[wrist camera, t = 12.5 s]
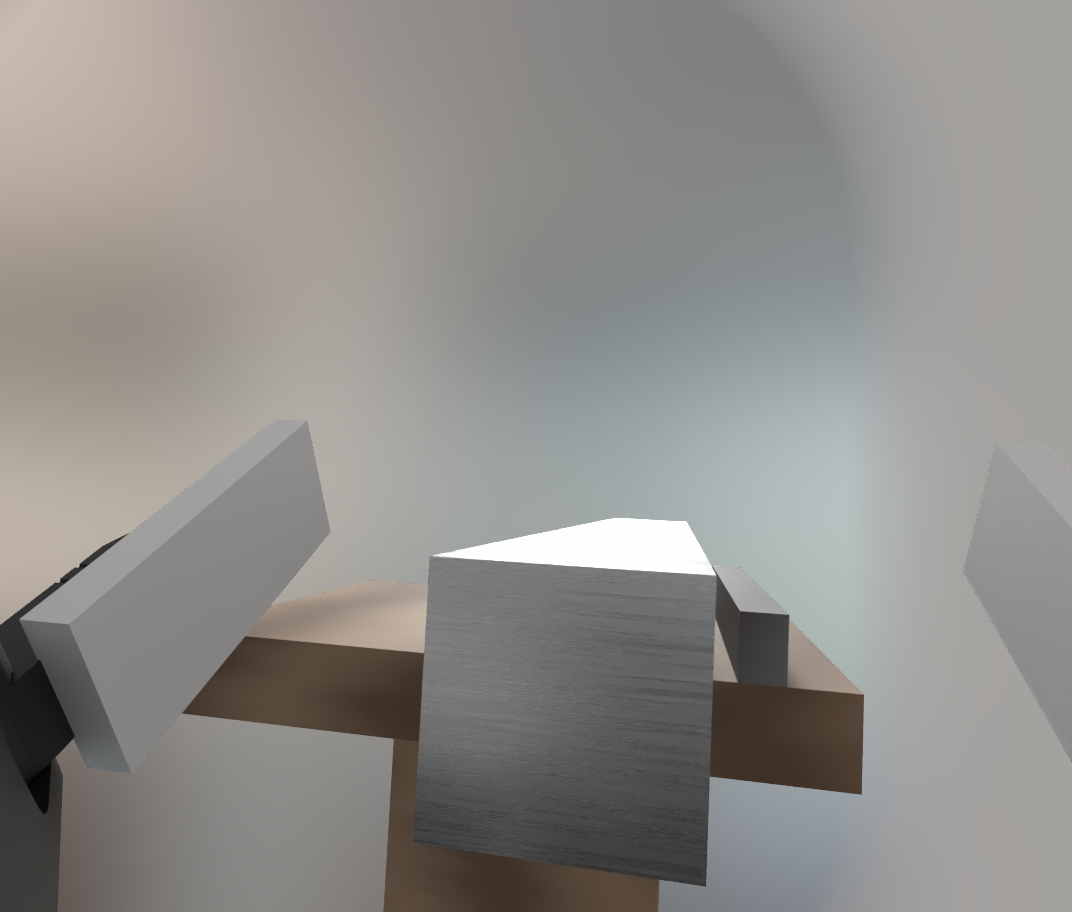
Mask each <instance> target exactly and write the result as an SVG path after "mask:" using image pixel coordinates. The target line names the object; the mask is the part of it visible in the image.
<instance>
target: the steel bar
mask: <svg viewBox="0 0 1072 912" xmlns="http://www.w3.org/2000/svg"><path fill="white" fill-rule="evenodd" d="M716 580H717V575H716V573H715V572H714V570H713V568H712V566H711V565H710V563H709V561H708V560H707V558H706V556H705V554H704V552H703V551H702V549H701V547H700V545H699V543H698V542H697V540H696V538H695V536H694V535H693V533H692V531H691V529H690V528H689V526H688V524H687V522H678V521H659V520H658V521H657V520H642V519H623V518H614V519H609V520H604V521H599V522H594V523H589V524H584V525H579V526H574V527H570V528H565V529H560V530H555V531H550V532H545V533H540V534H535V535H531V536H526V537H521V538H516V539H511V540H506V541H501V542H497V543H491V544H487V545H482V546H477V547H472V548H467V549H462V550H457V551H452V552H448V553H443V554H438V555H433V556H430V561H429V578H428V595H427V612H426V629H425V647H424V664H423V681H422V699H421V716H420V733H419V751H418V768H417V785H416V802H415V820H414V837H413V843H417V844H424V845H430V846H437V847H444V848H451V849H457V850H464V851H471V852H477V853H484V854H491V855H498V856H504V857H511V858H518V859H525V860H531V861H538V862H545V863H551V864H558V865H565V866H572V867H578V868H585V869H592V870H599V871H605V872H612V873H619V874H625V875H632V876H639V877H646V878H652V879H659V880H666V881H673V882H679V883H687V884H693V885H700V886H706V868H707V839H708V809H709V781H710V753H711V724H712V695H713V666H714V637H715V608H716Z"/></svg>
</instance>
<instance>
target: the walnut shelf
mask: <svg viewBox="0 0 1072 912" xmlns="http://www.w3.org/2000/svg"><path fill="white" fill-rule="evenodd" d="M712 568H713V570H714V572H715V573H716V575H717V580H716V608H715V637H714V666H713V695H712V724H711V753H710V776H711V777H719V778H728V779H736V780H744V781H753V782H761V783H769V784H778V785H786V786H794V787H803V788H811V789H819V790H828V791H836V792H845V793H853V794H861V793H862V756H863V711H864V709H863V708H864V694H863V693H862V692H861V691H860V690H859V689H858V688H857V687H856V686H855V685H854V684H853V683H852V682H851V681H850V680H849V679H848V678H847V677H846V676H845V675H844V674H843V673H842V672H841V671H840V670H839V669H838V668H837V667H836V666H835V665H834V664H833V663H832V662H831V661H830V660H829V659H828V658H827V657H826V656H825V655H824V654H823V653H822V652H821V651H820V650H819V649H818V648H817V647H816V646H815V645H814V644H813V643H812V642H811V641H810V640H809V639H808V638H807V637H806V636H805V635H804V634H803V633H802V632H801V631H800V630H799V629H798V628H797V627H796V626H795V625H794V624H793V623H792V622H791V621H790V620H789V614H788V613H787V612H786V611H785V610H784V609H783V608H782V607H781V606H779V605H778V603H777V602H775V601H774V600H773V599H772V598H771V597H770V596H769V595H768V594H767V593H766V592H765V591H764V590H763V589H762V588H761V587H760V586H759V585H758V584H757V583H756V582H755V581H754V580H753V579H752V578H750V576H749V575H748V574H747V573H745V572H744V571H743V570H742V569H741V568H740V567H730V566H714V565H713V566H712ZM427 595H428V584H416V583H402V582H388V581H376V580H372V581H368V582H364V583H360V584H356V585H352V586H348V587H344V588H339V589H335V590H331V591H328V592H323V593H319V594H315V595H311V596H307V597H303V598H299V599H295V600H291V601H287V602H283V603H279V604H275V605H271V606H270V607H269V608H268V609H267V610H266V611H265V613H264V614H263V615H262V616H261V618H260V619H259V620H258V621H257V622H256V624H255V625H254V626H253V627H252V628H251V630H250V631H249V632H248V633H247V635H246V636H245V637H244V638H243V639H242V641H241V642H240V643H239V644H238V646H237V647H236V648H235V649H234V650H233V652H232V653H231V654H230V655H229V657H228V658H227V659H226V660H225V661H224V663H223V664H222V665H221V666H220V667H219V669H218V670H217V671H216V672H215V674H214V675H213V676H212V677H211V678H210V680H209V681H208V682H207V683H206V685H205V686H204V687H203V688H202V689H201V691H200V692H199V693H198V694H197V695H196V697H195V698H194V699H193V700H192V702H191V703H190V704H189V705H188V706H187V708H186V709H185V710H184V711H183V714H191V715H200V716H208V717H216V718H226V719H233V720H242V721H250V722H259V723H267V724H276V725H283V726H292V727H300V728H309V729H317V730H325V731H334V732H342V733H351V734H360V735H367V736H376V737H384V738H393V739H394V746H393V765H392V780H391V796H390V813H389V831H388V846H387V863H386V880H385V897H384V912H658V906H659V905H658V903H659V879H652V878H646V877H639V876H632V875H625V874H619V873H612V872H605V871H599V870H592V869H585V868H578V867H572V866H565V865H558V864H551V863H545V862H538V861H531V860H525V859H518V858H511V857H504V856H498V855H491V854H484V853H477V852H471V851H464V850H457V849H451V848H444V847H437V846H430V845H424V844H417V843H413V837H414V820H415V802H416V785H417V768H418V751H419V733H420V716H421V699H422V681H423V664H424V647H425V629H426V612H427Z"/></svg>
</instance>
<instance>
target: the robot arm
mask: <svg viewBox="0 0 1072 912" xmlns="http://www.w3.org/2000/svg"><path fill="white" fill-rule="evenodd" d="M329 533H330V528H329V523H328V518H327V513H326V508H325V504H324V500H323V494H322V489H321V485H320V480H319V475H318V470H317V466H316V460H315V456H314V451H313V446H312V441H311V436H310V432H309V427H308V422H307V421H300V420H297V421H296V420H273V421H272V422H271V423H269V424H268V425H267V426H265V427H264V428H263V429H262V430H260V431H259V432H258V433H256V434H255V435H254V436H253V437H251V438H250V439H249V440H248V441H246V442H245V443H244V444H242V445H241V446H240V447H239V448H237V449H236V450H235V451H234V452H232V453H231V454H230V455H229V456H227V457H226V458H225V459H223V460H222V461H221V462H219V463H218V464H217V465H216V466H215V467H213V468H212V469H211V470H209V471H208V472H207V473H205V474H204V475H203V476H202V477H200V478H199V479H198V480H197V481H195V482H194V483H193V484H191V485H190V486H189V487H188V488H186V489H185V490H184V491H183V492H181V493H180V494H179V495H177V496H176V497H175V498H174V499H172V500H171V501H170V502H168V503H167V504H166V505H165V506H163V507H162V508H161V509H159V510H158V511H157V512H156V513H155V514H153V515H152V516H151V517H149V518H148V519H147V520H145V521H144V522H143V523H142V524H140V525H139V526H138V527H137V528H135V529H134V530H133V531H131V532H130V533H128V534H126V535H124V536H122V537H120V538H118V539H116V540H114V541H112V542H110V543H108V544H106V545H104V546H102V547H101V548H100V549H99V550H97V551H96V552H94V553H93V554H92V555H91V556H89V557H88V558H87V559H85V560H84V561H83V562H82V563H80V566H79V568H74V569H72V570H71V571H70V572H69V573H67V574H66V575H65V576H64V577H62V578H61V579H60V583H54V584H53V585H52V586H50V587H49V588H48V589H47V590H45V591H44V592H43V593H41V594H40V595H39V596H37V597H36V598H35V599H34V600H32V601H31V602H30V603H28V604H27V605H26V606H24V607H23V608H22V609H21V610H19V611H18V612H17V613H15V614H14V615H13V616H11V617H10V618H9V619H7V620H6V621H5V622H4V623H2V624H1V625H0V912H57V906H58V882H59V857H60V832H61V808H62V782H63V775H62V772H61V769H60V766H59V764H58V762H57V760H56V758H55V757H56V756H57V755H58V754H59V753H60V752H61V751H62V750H63V749H64V748H65V747H66V746H67V745H68V744H69V742H70V741H71V740H72V739H73V738H74V740H75V743H76V744H77V747H78V749H79V751H80V753H81V756H82V758H83V760H84V762H85V764H86V767H87V768H93V769H100V770H107V771H114V772H122V773H129V774H132V773H133V772H134V771H135V770H136V768H137V767H138V766H139V765H140V764H141V762H142V761H143V760H144V759H145V757H146V756H147V755H148V754H149V753H150V751H151V750H152V749H153V748H154V747H155V745H156V744H157V743H158V742H159V741H160V739H161V738H162V737H163V736H164V734H165V733H166V732H167V731H168V730H169V728H170V727H171V726H172V725H173V723H174V722H175V721H176V720H177V719H178V717H179V716H180V715H181V714H182V713H183V711H184V710H185V709H186V708H187V706H188V705H189V704H190V703H191V702H192V700H193V699H194V698H195V697H196V695H197V694H198V693H199V692H200V691H201V689H202V688H203V687H204V686H205V685H206V683H207V682H208V681H209V680H210V678H211V677H212V676H213V675H214V674H215V672H216V671H217V670H218V669H219V667H220V666H221V665H222V664H223V663H224V661H225V660H226V659H227V658H228V657H229V655H230V654H231V653H232V652H233V650H234V649H235V648H236V647H237V646H238V644H239V643H240V642H241V641H242V639H243V638H244V637H245V636H246V635H247V633H248V632H249V631H250V630H251V628H252V627H253V626H254V625H255V624H256V622H257V621H258V620H259V619H260V618H261V616H262V615H263V614H264V613H265V611H266V610H267V609H268V608H269V607H270V605H271V604H272V603H273V602H274V600H275V599H276V598H277V597H278V596H279V594H280V593H281V592H282V591H283V589H284V588H285V587H286V586H287V585H288V583H289V582H290V581H291V580H292V579H293V577H294V576H295V575H296V574H297V572H298V571H299V570H300V569H301V568H302V566H303V565H304V564H305V563H306V561H307V560H308V559H309V558H310V557H311V555H312V554H313V553H314V552H315V550H316V549H317V548H318V547H319V546H320V544H321V543H322V542H323V541H324V539H325V538H326V537H327V536H328V535H329ZM963 572H964V574H965V576H966V577H967V579H968V581H969V582H970V584H971V586H972V588H973V589H974V591H975V593H976V595H977V597H978V598H979V600H980V602H981V604H982V606H983V607H984V609H985V611H986V613H987V614H988V616H989V618H990V619H991V621H992V623H993V625H994V627H995V628H996V630H997V632H998V634H999V635H1000V637H1001V639H1002V641H1003V642H1004V644H1005V646H1006V648H1007V649H1008V651H1009V653H1010V655H1011V656H1012V658H1013V660H1014V662H1015V663H1016V665H1017V667H1018V669H1019V670H1020V672H1021V674H1022V676H1023V678H1024V679H1025V681H1026V683H1027V684H1028V686H1029V688H1030V690H1031V692H1032V693H1033V695H1034V697H1035V699H1036V700H1037V702H1038V704H1039V706H1040V707H1041V709H1042V711H1043V713H1044V714H1045V716H1046V718H1047V719H1048V721H1049V723H1050V725H1051V727H1052V729H1053V730H1054V732H1055V734H1056V736H1057V737H1058V739H1059V741H1060V743H1061V744H1062V746H1063V748H1064V750H1065V751H1066V753H1067V755H1068V757H1069V758H1070V760H1071V762H1072V470H1071V469H1070V468H1069V467H1068V466H1067V465H1066V464H1065V463H1064V462H1063V461H1062V460H1061V459H1060V458H1059V457H1058V456H1057V455H1056V454H1055V453H1054V452H1053V451H1052V450H1051V449H1050V448H1049V447H1048V446H1047V445H1046V444H1045V443H1032V442H1031V443H1030V442H999V441H997V442H995V446H994V450H993V454H992V458H991V462H990V466H989V470H988V474H987V478H986V482H985V486H984V490H983V494H982V498H981V502H980V506H979V510H978V514H977V518H976V522H975V526H974V530H973V534H972V538H971V542H970V546H969V550H968V554H967V558H966V562H965V566H964V570H963Z"/></svg>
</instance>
